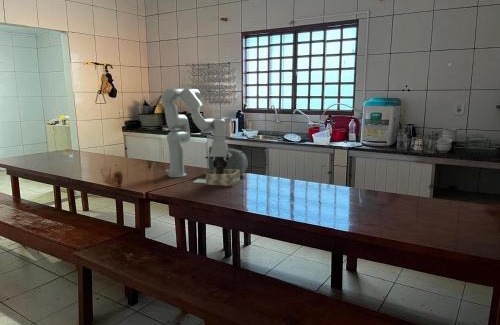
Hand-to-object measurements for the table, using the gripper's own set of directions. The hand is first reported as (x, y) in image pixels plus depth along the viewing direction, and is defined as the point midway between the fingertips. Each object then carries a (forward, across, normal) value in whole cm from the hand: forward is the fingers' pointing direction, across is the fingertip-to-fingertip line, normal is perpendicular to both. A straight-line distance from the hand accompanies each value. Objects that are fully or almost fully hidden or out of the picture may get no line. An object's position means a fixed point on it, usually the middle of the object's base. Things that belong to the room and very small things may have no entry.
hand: (220, 166), depth 230 cm
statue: (+7, 0, 0) cm, 7 cm away
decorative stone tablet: (+11, -2, +22) cm, 25 cm away
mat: (+10, -13, 0) cm, 17 cm away
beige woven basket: (+10, +2, 0) cm, 11 cm away
